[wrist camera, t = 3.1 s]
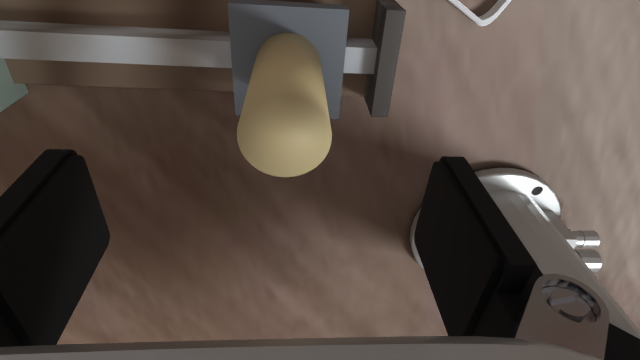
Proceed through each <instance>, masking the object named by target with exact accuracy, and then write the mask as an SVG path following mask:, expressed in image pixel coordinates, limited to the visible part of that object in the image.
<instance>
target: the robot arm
mask: <svg viewBox="0 0 640 360" xmlns="http://www.w3.org/2000/svg"><path fill="white" fill-rule="evenodd" d="M560 218H561V208H560V202H559V200H558V198H557V196H556V194H555V192H554V191H553V190H552V189H551V188H550V187H549V186H548V184H547V183H546V182H544V181H543V180H542V179H541V178H539V177H538V176H536V175H534V174H532V173H530V172H527V171H524V170H519V169H515V168H492V169H484V170H480V171H476V172H474V171H473V169H472V168H471V166H470V165H469V164H468V162H467V161H466V159H465V158H464V157H444V156H443V157H441V159H440V160H439V162H437V161H436V162H434V164H433V166H432V170H431V173H430V177H429V181H428V184H427V188H426V192H425V195H424V199H423V203H422V206H421V208H420V209H419V211H418V213H417V214H416V216H415V218H414V220H413V223H412V226H411V229H410V244H411V249H412V252H413V254H414V257H415V260H416V261H417V263H418V264H419V265H420V267H421V268H422V269H423V270H425V273H426V276H427V279H428V281H429V284H430V287H431V289H432V292H433V295H434V298H435V300H436V303H437V306H438V309H439V311H440V314H441V317H442V320H443V322H444V325H445V328H446V331H447V333H448V336H404V337H348V338H295V339H251V340H209V341H168V342H133V343H98V344H63V345H56V344H57V342H58V340H59V338H60V336H61V334H62V332H63V330H64V329H65V327H66V325H67V323H68V321H69V319H70V317H71V315H72V313H73V311H74V309H75V307H76V306H77V304H78V302H79V300H80V298H81V296H82V294H83V292H84V290H85V288H86V286H87V284H88V283H89V281H90V279H91V277H92V275H93V273H94V271H95V269H96V267H97V265H98V263H99V261H100V260H101V258H102V256H103V254H104V252H105V250H106V248H107V246H108V244H109V239H110V234H109V230H108V227H107V224H106V221H105V218H104V215H103V212H102V209H101V206H100V203H99V200H98V197H97V194H96V191H95V188H94V185H93V182H92V180H91V177H90V174H89V171H88V168H87V165H86V162H85V159H84V158H83V157H82V156H81V155H77V153H76V152H75V151H74V150H62V149H48V150H46V151H44V152H43V153H42V154H41V155H40V156H39V157H38V158H37V159H36V160H35V161H34V162H33V164H32V165H31V166H30V167H29V168H28V169H27V170H26V171H25V172H24V173H23V174H22V175H21V176H20V177H19V178H18V179H17V180H16V181H15V182H14V183H13V184H12V185H11V186H10V187H9V188H8V189H7V190H6V191H5V192H4V193H3V195H2V196H1V197H0V360H640V330H639V329H638V328H637V327H636V325H635V324H634V323H633V322H632V320H631V319H630V318H629V317H628V316H627V314H626V313H625V312H624V311H623V309H622V308H621V307H620V306H619V304H618V303H617V302H616V301H615V300H614V298H613V297H612V296H611V295H610V293H609V292H608V291H607V290H606V288H605V287H604V286H603V285H602V284H601V282H600V281H599V280H598V279H597V277H596V276H595V275H594V274H593V272H598V271H599V270H600V269H601V266H602V259H601V256H600V255H599V253H598V252H597V251H595V250H574V248H575V246H577V247H597V246H598V245H599V242H600V237H599V235H598V233H597V232H595V231H571V230H570V229H568V228H567V227H566V225H565V224H564V223H563V222H562V221H561V219H560Z"/></svg>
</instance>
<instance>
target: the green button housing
mask: <svg viewBox="0 0 640 360" xmlns="http://www.w3.org/2000/svg"><path fill="white" fill-rule="evenodd" d="M27 93H29V91H28V89H27V86H26V84H17V83H14V82H13V79H12V77H11V74H10V72H9V69H8V67H7V64H6V62H5V59H4V58H0V112H1V111H3V110H4V109H6V108H7V107H9V106H10V105H11V104H13V103H14V102H16V101H17V100H19V99H20V98H22V97H23V96H24V95H26V94H27Z"/></svg>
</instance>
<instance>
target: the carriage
mask: <svg viewBox="0 0 640 360" xmlns="http://www.w3.org/2000/svg"><path fill="white" fill-rule="evenodd" d="M228 16H229V31H230V46H231V60H232V75H233V90H234V105H235V116H240V119H239V123H238V127H237V142H238V145H239V148H240V151H241V153H242V154H243V156H244V157H245V159H246V160H247V161H248V162H249V163H250V164H251V165H252V166H253V167H255V168H256V169H258V170H260V171H261V172H264V173H266V174H269V175H272V176H277V177H294V176H299V175H302V174H305V173H307V172H309V171H311V170H313V169H314V168H316V167H317V166H318V165H319V164H320V163H321V162H322V161H323V160H324V159H325V157H326V156H327V154H328V152H329V149H330V146H331V141H332V131H331V125H330V119H339V113H340V102H341V92H342V82H343V71H344V61H345V51H346V41H347V30H348V20H349V8H348V6H347V5H339V4H321V3H303V2H285V1H267V0H230V1H229V2H228Z"/></svg>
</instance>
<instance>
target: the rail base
mask: <svg viewBox="0 0 640 360" xmlns="http://www.w3.org/2000/svg"><path fill="white" fill-rule="evenodd" d="M229 1H230V0H0V58H4V59H5V62H6V64H7V67H8V69H9V72H10V74H11V77H12V79H13V82H14V83H17V84H43V85H69V86H95V87H122V88H148V89H174V90H200V91H226V92H234V90H233V75H232V60H231V46H230V31H229V16H228V2H229ZM267 1H285V2H303V3H321V4H339V5H347V6H348V8H349V20H348V30H347V41H346V51H345V61H344V71H343V82H342V92H341V96H357V97H364V98H365V101H366V103H367V106H368V109H369V112H370V115H371V117H388V112H389V106H390V100H391V95H392V89H393V83H394V77H395V72H396V66H397V60H398V54H399V49H400V43H401V37H402V31H403V26H404V20H405V14H406V10H404V9H403V8H402V7H401V6H400V5H399V4H398V3H397V2H396V1H395V0H267Z"/></svg>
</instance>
